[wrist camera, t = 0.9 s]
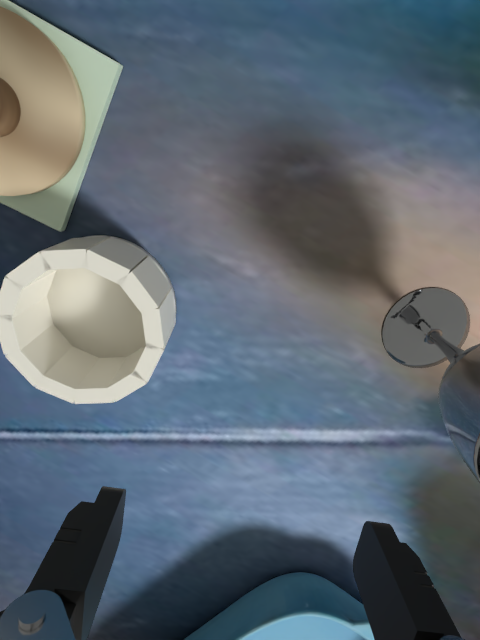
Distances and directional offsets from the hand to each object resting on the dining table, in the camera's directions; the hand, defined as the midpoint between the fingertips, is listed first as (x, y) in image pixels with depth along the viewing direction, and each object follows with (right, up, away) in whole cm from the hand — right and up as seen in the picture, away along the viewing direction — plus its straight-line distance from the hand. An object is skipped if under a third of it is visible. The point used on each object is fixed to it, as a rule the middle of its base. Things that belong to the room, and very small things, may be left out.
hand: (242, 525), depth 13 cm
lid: (-16, +21, +13) cm, 30 cm away
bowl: (-11, +8, +19) cm, 23 cm away
